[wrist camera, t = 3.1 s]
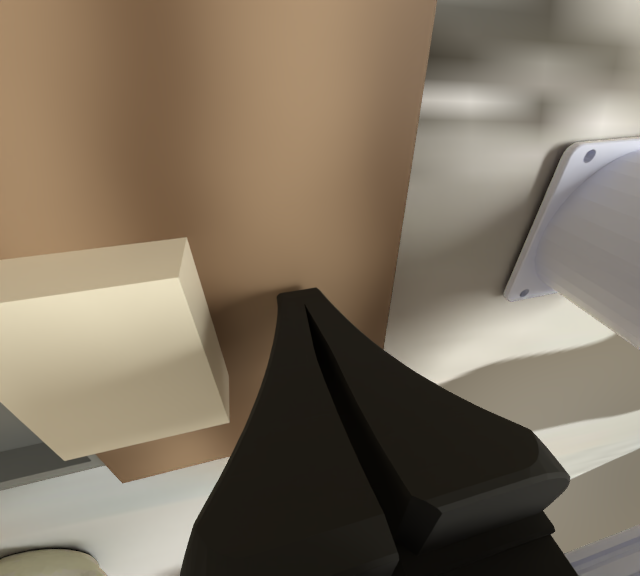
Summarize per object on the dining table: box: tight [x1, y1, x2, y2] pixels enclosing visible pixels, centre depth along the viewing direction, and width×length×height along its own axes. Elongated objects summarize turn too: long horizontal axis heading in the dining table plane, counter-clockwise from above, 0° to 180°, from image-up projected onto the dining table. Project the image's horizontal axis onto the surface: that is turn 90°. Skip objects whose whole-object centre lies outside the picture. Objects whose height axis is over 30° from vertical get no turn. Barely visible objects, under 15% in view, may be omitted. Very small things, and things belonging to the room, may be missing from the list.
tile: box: [0, 237, 230, 461], centre depth 9 cm, size 5×6×2 cm
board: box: [0, 0, 437, 483], centre depth 11 cm, size 12×18×2 cm
